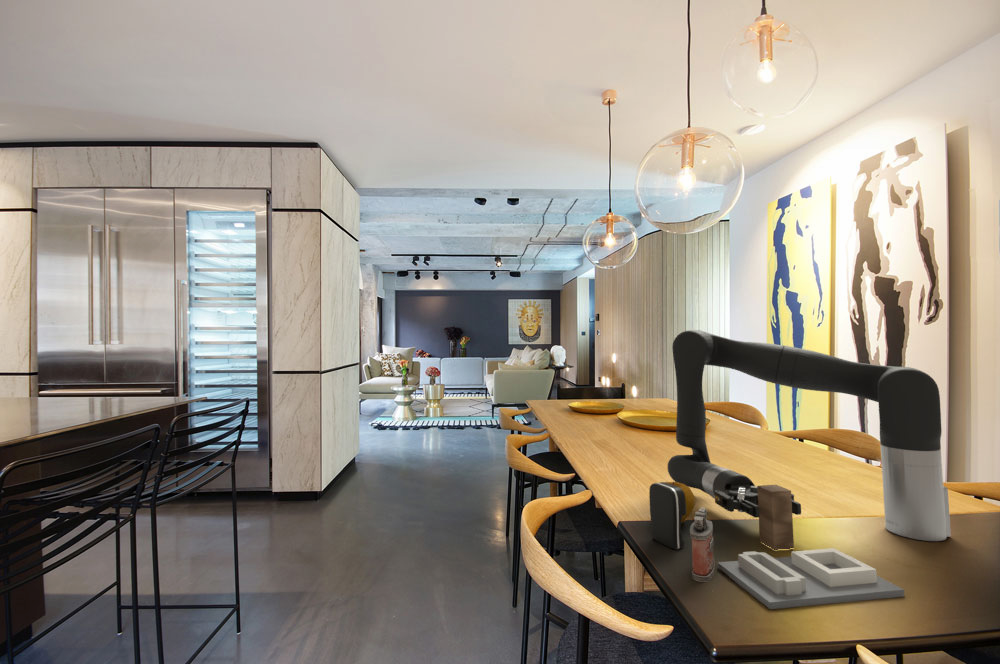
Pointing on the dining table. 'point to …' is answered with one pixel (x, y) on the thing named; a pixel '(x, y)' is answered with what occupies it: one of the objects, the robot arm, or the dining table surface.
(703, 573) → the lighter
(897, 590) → the holder board
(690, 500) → the apple
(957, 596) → the dining table surface
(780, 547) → the tall brown wooden block
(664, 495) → the battery charger
